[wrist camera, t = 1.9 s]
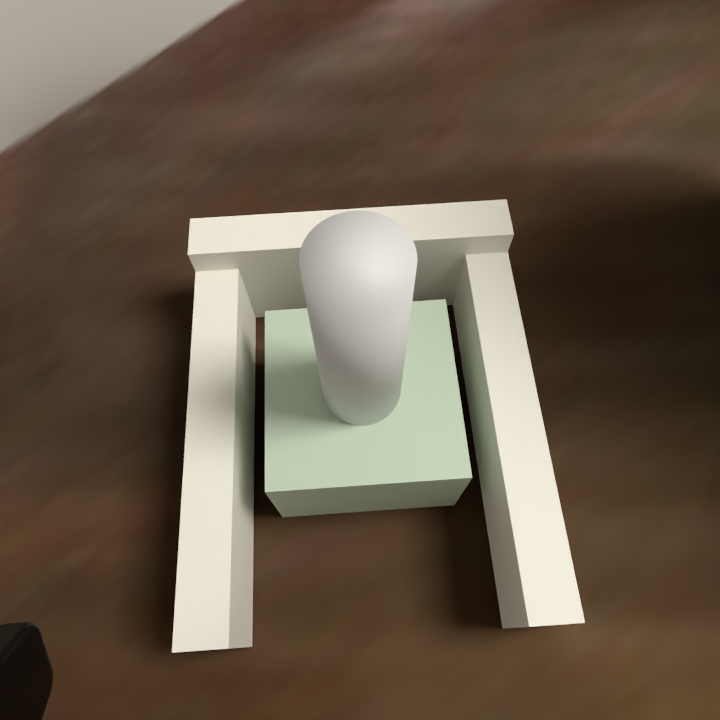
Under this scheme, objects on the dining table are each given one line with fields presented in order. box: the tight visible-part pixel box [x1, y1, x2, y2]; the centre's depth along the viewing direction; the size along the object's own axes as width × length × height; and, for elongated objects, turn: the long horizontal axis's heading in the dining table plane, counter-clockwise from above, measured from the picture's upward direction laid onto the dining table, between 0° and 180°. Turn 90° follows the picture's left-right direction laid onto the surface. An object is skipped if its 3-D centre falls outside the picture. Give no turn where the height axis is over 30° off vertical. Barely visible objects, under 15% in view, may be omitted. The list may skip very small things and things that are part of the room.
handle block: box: [265, 210, 472, 517], centre depth 17 cm, size 6×6×11 cm
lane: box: [172, 199, 585, 653], centre depth 20 cm, size 14×11×4 cm
